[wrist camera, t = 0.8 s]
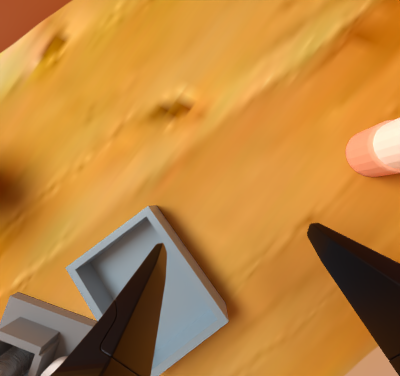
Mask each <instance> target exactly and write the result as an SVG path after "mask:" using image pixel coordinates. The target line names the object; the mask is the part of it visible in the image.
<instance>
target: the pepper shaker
mask: <svg viewBox="0 0 400 376" xmlns="http://www.w3.org/2000/svg"><path fill="white" fill-rule="evenodd" d="M346 157H347V161H348V162H349V164H350V166H351V167H352V168H353V169H354V170H355V171H356V172H358V173H360V174H362V175H364V176H369V177H376V176H384V175H391V174H397V173H400V118H398V119H395V120H388V121H384V122H382V123H380V124H377V125H375V126H373V127H371V128H369V129H366V130H364V131H362V132H360V133H358V134H356V135H354V136H353V137H352V138H351V139H350V140H349V142H348V144H347V147H346Z"/></svg>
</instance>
